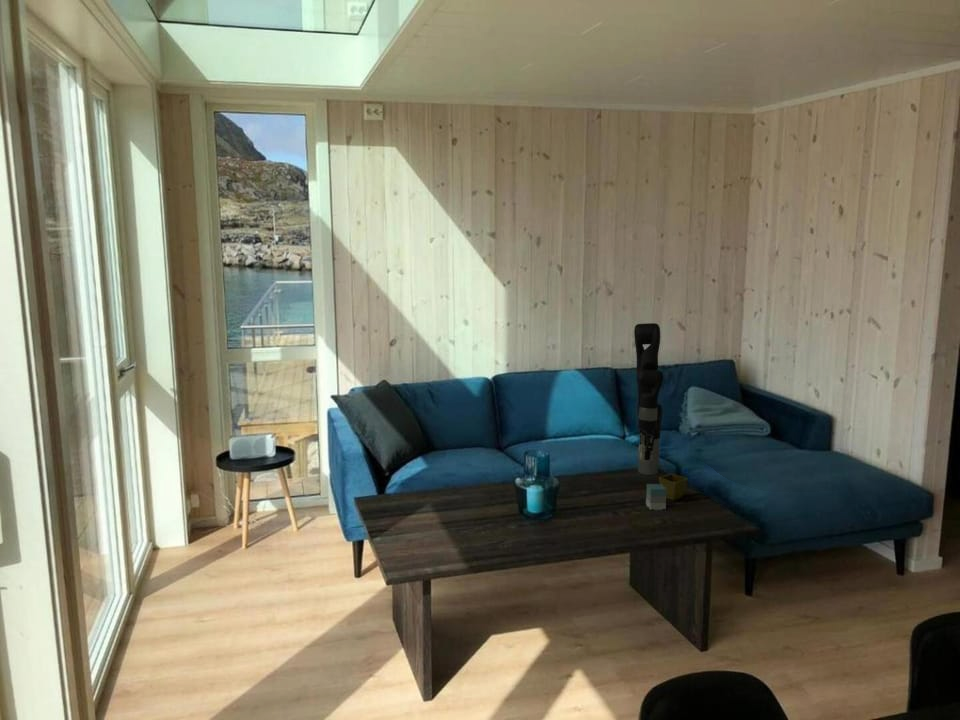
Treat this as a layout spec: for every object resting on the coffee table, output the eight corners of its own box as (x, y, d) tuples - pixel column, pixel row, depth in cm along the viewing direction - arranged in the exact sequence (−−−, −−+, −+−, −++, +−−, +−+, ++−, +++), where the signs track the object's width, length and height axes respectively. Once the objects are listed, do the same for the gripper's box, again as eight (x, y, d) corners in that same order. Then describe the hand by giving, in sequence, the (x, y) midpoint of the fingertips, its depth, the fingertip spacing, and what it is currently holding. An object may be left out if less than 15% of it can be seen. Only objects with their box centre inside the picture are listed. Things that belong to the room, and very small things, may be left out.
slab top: (646, 490, 319) (646, 484, 318) (661, 490, 319) (662, 484, 319) (650, 496, 313) (651, 489, 312) (666, 496, 313) (666, 489, 313)
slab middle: (646, 497, 320) (646, 490, 319) (661, 497, 320) (661, 490, 319) (650, 503, 313) (650, 496, 313) (665, 503, 314) (666, 496, 313)
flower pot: (674, 503, 322) (675, 482, 320) (657, 497, 328) (658, 477, 327) (686, 498, 327) (688, 478, 326) (669, 493, 334) (671, 473, 332)
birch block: (638, 457, 319) (639, 444, 319) (649, 457, 320) (650, 444, 319) (641, 460, 315) (641, 447, 314) (652, 460, 315) (653, 447, 314)
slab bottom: (645, 504, 320) (646, 497, 320) (660, 504, 320) (661, 497, 320) (650, 510, 314) (650, 503, 313) (665, 510, 314) (665, 503, 314)
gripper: (634, 413, 321) (632, 453, 324) (643, 421, 307) (641, 463, 310) (652, 413, 322) (649, 453, 324) (661, 422, 308) (659, 463, 310)
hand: (645, 457), depth 317 cm, fingers closed on birch block, 4 cm apart
